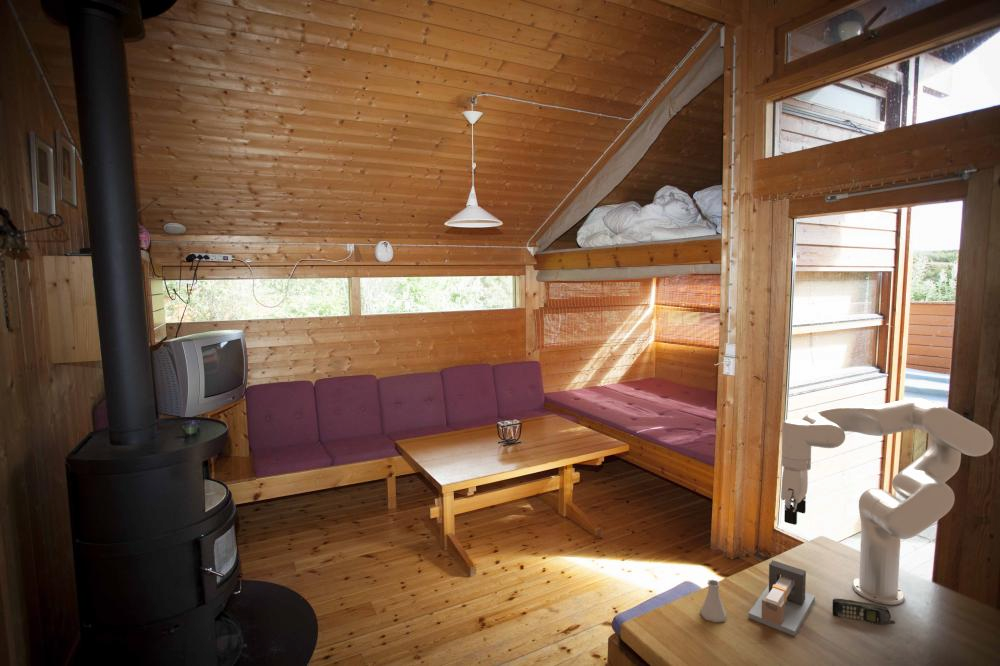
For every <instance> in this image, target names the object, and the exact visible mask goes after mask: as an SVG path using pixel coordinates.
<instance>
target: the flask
mask: <svg viewBox="0 0 1000 666" xmlns="http://www.w3.org/2000/svg"><path fill="white" fill-rule="evenodd" d="M707 585H708V590H707V594H706V597H705V599H704V602H703V604H702V606H701V609H700V612H699V613H700V615H701V617H703V619H704V620H706V621H709V622H713V623H723V622H726V620H727V615H728V614H727V612H726V609H725V607H724V605H723V602H722V600H721V596H720V591H719V587H720V582H719V581H718V580H715V579H708V580H707Z"/></svg>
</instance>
